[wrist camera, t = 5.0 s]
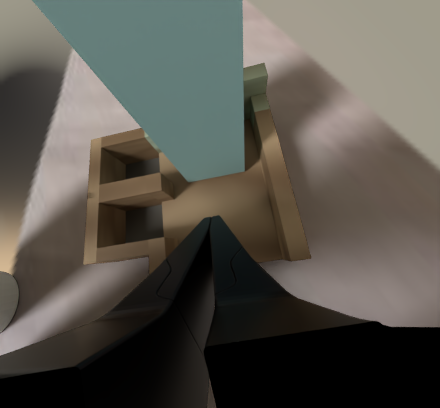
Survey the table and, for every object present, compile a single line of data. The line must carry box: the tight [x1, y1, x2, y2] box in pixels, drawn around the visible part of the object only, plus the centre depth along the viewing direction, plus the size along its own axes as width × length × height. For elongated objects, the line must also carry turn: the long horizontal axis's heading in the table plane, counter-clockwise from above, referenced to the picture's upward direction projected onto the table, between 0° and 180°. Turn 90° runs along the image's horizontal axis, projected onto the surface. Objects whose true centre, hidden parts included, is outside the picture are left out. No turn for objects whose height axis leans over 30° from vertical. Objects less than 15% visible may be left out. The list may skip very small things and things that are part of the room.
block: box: [32, 0, 245, 182], centre depth 10 cm, size 5×5×12 cm
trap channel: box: [83, 63, 311, 275], centre depth 14 cm, size 14×15×5 cm
